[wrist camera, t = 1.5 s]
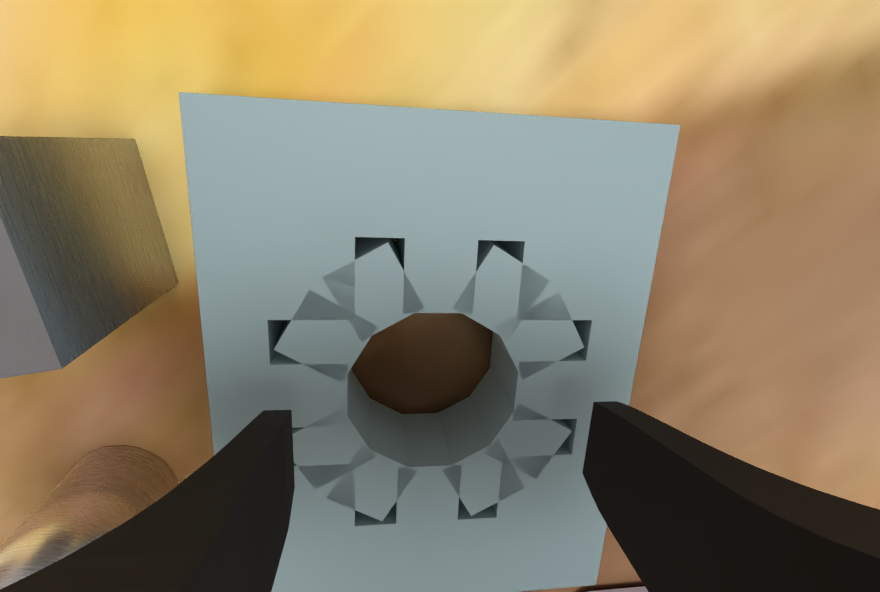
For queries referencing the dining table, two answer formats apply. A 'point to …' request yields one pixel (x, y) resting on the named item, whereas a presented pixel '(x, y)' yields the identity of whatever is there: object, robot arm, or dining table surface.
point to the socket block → (424, 291)
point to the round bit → (85, 508)
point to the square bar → (73, 247)
